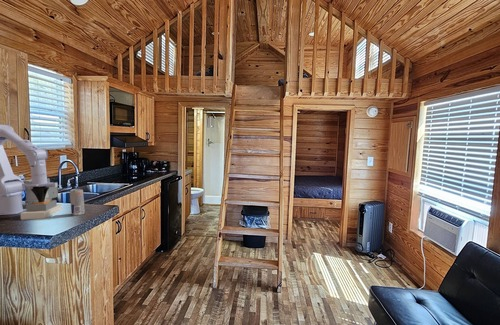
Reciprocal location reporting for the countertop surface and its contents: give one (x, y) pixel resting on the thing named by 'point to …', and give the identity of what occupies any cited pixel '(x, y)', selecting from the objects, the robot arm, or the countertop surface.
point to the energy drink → (77, 202)
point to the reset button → (41, 202)
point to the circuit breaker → (32, 197)
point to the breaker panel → (41, 210)
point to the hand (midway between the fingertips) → (41, 202)
